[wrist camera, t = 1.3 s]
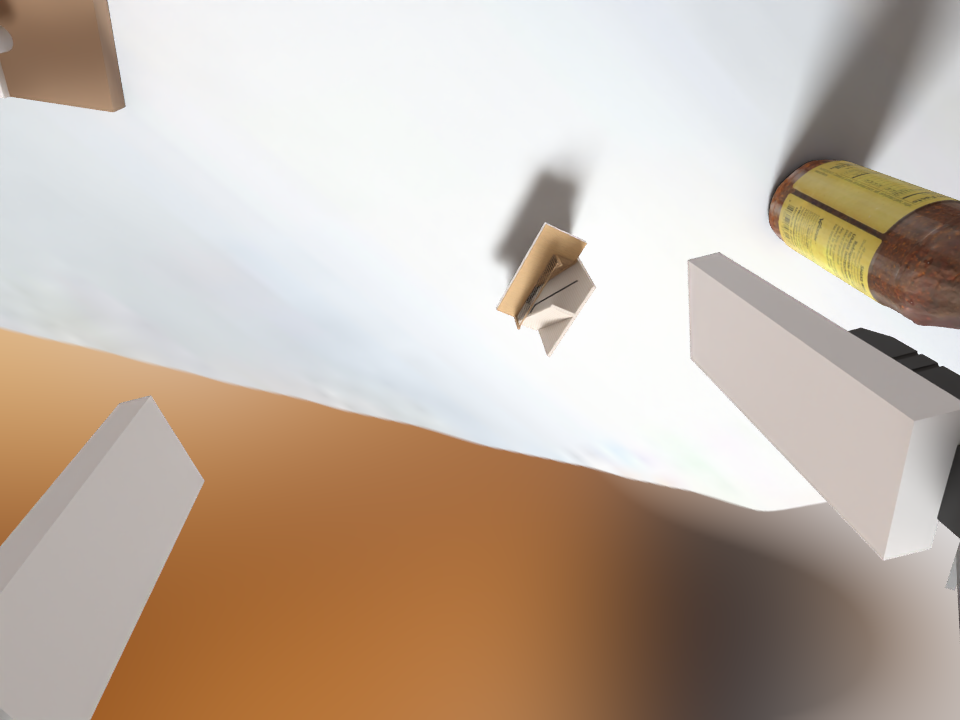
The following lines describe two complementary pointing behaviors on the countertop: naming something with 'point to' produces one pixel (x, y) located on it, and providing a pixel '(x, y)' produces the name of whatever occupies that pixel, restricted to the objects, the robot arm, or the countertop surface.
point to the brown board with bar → (61, 53)
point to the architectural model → (549, 286)
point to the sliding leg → (5, 40)
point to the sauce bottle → (875, 236)
